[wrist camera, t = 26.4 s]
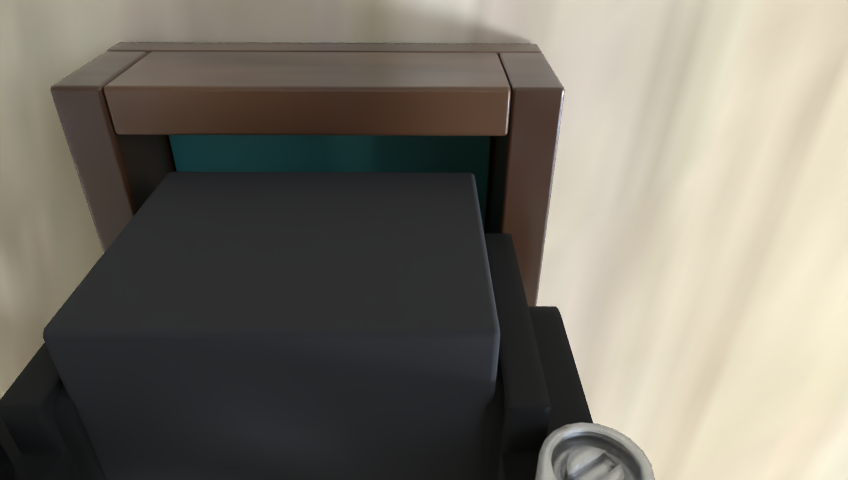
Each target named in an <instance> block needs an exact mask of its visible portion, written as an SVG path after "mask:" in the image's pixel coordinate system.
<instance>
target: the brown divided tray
mask: <svg viewBox="0 0 848 480" xmlns="http://www.w3.org/2000/svg"><path fill="white" fill-rule="evenodd" d="M564 91H565V90H564V87H563V86H562V84H561V83H560V81H559V79H558V78H557V76H556V74H555V73H554V71H553V70H552V68H551V66H550V65H549V63H548V62H547V60H546V58H545V57H544V55H543V54H542V52H541V50H540V49H539V47H538V46H537V45H536V44H411V43H160V42H121V43H118V44H117V45H115V46H114V47H112V48H111V49H109V50H108V51H107V52H105V53H103V54H102V55H100V56H99V57H97V58H95V59H94V60H92V61H91V62H89V63H88V64H86V65H84V66H83V67H81V68H80V69H78V70H76V71H75V72H73V73H72V74H70V75H68V76H67V77H65V78H64V79H62V80H61V81H59V82H57V83H56V84H54V85H53V86H51V93H52V96H53V99H54V102H55V106H56V109H57V112H58V115H59V118H60V121H61V124H62V127H63V130H64V133H65V136H66V139H67V142H68V145H69V148H70V151H71V154H72V157H73V160H74V163H75V166H76V169H77V172H78V175H79V178H80V181H81V184H82V188H83V191H84V194H85V197H86V200H87V203H88V206H89V209H90V212H91V215H92V218H93V221H94V224H95V227H96V230H97V233H98V236H99V239H100V242H101V245H102V248H103V251H104V253H105V252H106V250H107V249H108V248H109V247H110V245H111V244H112V243H113V241H114V240H115V239H116V238H117V236H118V235H119V234H120V233H121V231H122V230H123V229H124V228H125V226H126V225H127V224H128V223H129V221H130V220H131V219H132V218H133V216H134V215H135V214H136V213H137V211H138V210H139V209H140V207H141V206H142V205H143V204H144V202H145V201H146V200H147V199H148V197H149V196H150V195H151V194H152V192H153V191H154V190H155V189H156V187H157V186H158V185H159V184H160V182H161V181H162V180H163V179H164V177H165V176H166V175H167V174H168V173H170V172H413V173H472V174H473V175H474V177H475V182H476V188H477V194H478V201H479V207H480V213H481V219H482V225H483V231H484V233H510V234H511V236H512V239H513V244H514V248H515V252H516V256H517V261H518V265H519V269H520V274H521V278H522V282H523V286H524V291H525V295H526V299H527V304H528V306H536V304H537V296H538V289H539V281H540V274H541V266H542V258H543V251H544V243H545V236H546V228H547V220H548V213H549V205H550V198H551V190H552V182H553V175H554V167H555V160H556V152H557V144H558V137H559V129H560V122H561V114H562V106H563V99H564Z"/></svg>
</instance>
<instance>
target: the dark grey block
mask: <svg viewBox="0 0 848 480" xmlns="http://www.w3.org/2000/svg"><path fill="white" fill-rule="evenodd" d="M43 338H44V341H45V343H46V345H47V347H48V350H49V352H50V354H51V357H52V359H53V361H54V364H55V366H56V368H57V371H58V373H59V375H60V378H61V380H62V382H63V384H64V387H65V389H66V391H67V394H68V396H69V398H70V401H72V402H73V403H74V405H75V407H76V409H77V412H78V414H79V416H80V419H81V421H82V423H83V426H84V428H85V430H86V433H87V435H88V437H89V440H90V442H91V444H92V447H93V449H94V451H95V454H96V456H97V458H98V461H99V463H100V465H101V468H102V470H103V472H104V475H105V477H106V479H107V480H480V474H481V463H482V451H483V439H484V428H485V416H486V405H487V404H489V403H490V402H492V401H493V399H494V396H495V386H496V376H497V365H498V355H499V344H500V328H499V322H498V316H497V310H496V304H495V298H494V292H493V286H492V280H491V273H490V267H489V261H488V255H487V249H486V243H485V237H484V231H483V225H482V219H481V213H480V207H479V201H478V194H477V188H476V182H475V177H474V175H473V174H472V173H413V172H170V173H168V174H167V175H166V176H165V177H164V179H163V180H162V181H161V182H160V184H159V185H158V186H157V187H156V189H155V190H154V191H153V192H152V194H151V195H150V196H149V197H148V199H147V200H146V201H145V202H144V204H143V205H142V206H141V207H140V209H139V210H138V211H137V213H136V214H135V215H134V216H133V218H132V219H131V220H130V221H129V223H128V224H127V225H126V226H125V228H124V229H123V230H122V231H121V233H120V234H119V235H118V236H117V238H116V239H115V240H114V241H113V243H112V244H111V245H110V247H109V248H108V249H107V250H106V252H105V253H104V254H103V255H102V257H101V258H100V259H99V260H98V262H97V263H96V264H95V265H94V267H93V268H92V269H91V270H90V272H89V273H88V274H87V275H86V277H85V278H84V279H83V281H82V282H81V283H80V284H79V286H78V287H77V288H76V289H75V291H74V292H73V293H72V294H71V296H70V297H69V298H68V299H67V301H66V302H65V303H64V304H63V306H62V307H61V308H60V309H59V311H58V312H57V313H56V315H55V316H54V317H53V318H52V320H51V321H50V322H49V323H48V325H47V326H46V327H45V328H44V332H43Z"/></svg>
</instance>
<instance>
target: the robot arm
mask: <svg viewBox="0 0 848 480" xmlns="http://www.w3.org/2000/svg"><path fill="white" fill-rule="evenodd" d="M484 237H485V243H486V249H487V255H488V261H489V267H490V273H491V280H492V286H493V292H494V298H495V304H496V310H497V316H498V322H499V328H500V344H499V355H498V365H497V376H496V386H495V396H494V399H493V401H492V402H490V403H489V404H487V405H486V416H485V428H484V439H483V451H482V463H481V474H480V480H655V478H654V474H653V469H652V465H651V463H650V462H649V460H648V459H647V457H646V455H645V454H644V452H643V450H641V449H640V448H639V447H638V446H637V445H636V444H635V443H634V442H633V441H632V440H631V439H630V438H628V437H627V436H625V435H623V434H622V433H620V432H618V431H617V430H615V429H612V428H609V427H606V426H603V425H600V424H594V423H593V421H592V418H591V415H590V411H589V408H588V405H587V401H586V398H585V395H584V391H583V388H582V385H581V381H580V378H579V375H578V371H577V368H576V365H575V361H574V358H573V355H572V351H571V348H570V344H569V341H568V338H567V334H566V331H565V328H564V324H563V321H562V318H561V315H560V312H559V310H558V308H557V307H548V306H528V304H527V299H526V295H525V291H524V286H523V282H522V278H521V274H520V269H519V265H518V261H517V256H516V252H515V248H514V244H513V239H512V236H511V234H510V233H484ZM0 480H107V479H106V477H105V475H104V472H103V470H102V468H101V465H100V463H99V461H98V458H97V456H96V454H95V451H94V449H93V447H92V444H91V442H90V440H89V437H88V435H87V433H86V430H85V428H84V426H83V423H82V421H81V419H80V416H79V414H78V412H77V409H76V407H75V405H74V403H73V402H72V401H70V398H69V396H68V394H67V391H66V389H65V387H64V384H63V382H62V380H61V378H60V375H59V373H58V371H57V368H56V366H55V364H54V361H53V359H52V357H51V354H50V352H49V350H48V347H47V345H46V343H44V344H43V345H42V347H41V348H40V349H39V350H38V352H37V353H36V354H35V356H34V357H33V358H32V360H31V361H30V362H29V363H28V365H27V366H26V367H25V369H24V370H23V371H22V373H21V374H20V375H19V376H18V378H17V379H16V380H15V382H14V383H13V384H12V385H11V387H10V388H9V389H8V391H7V392H6V393H5V395H4V396H3V397H2V398H1V400H0Z"/></svg>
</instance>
